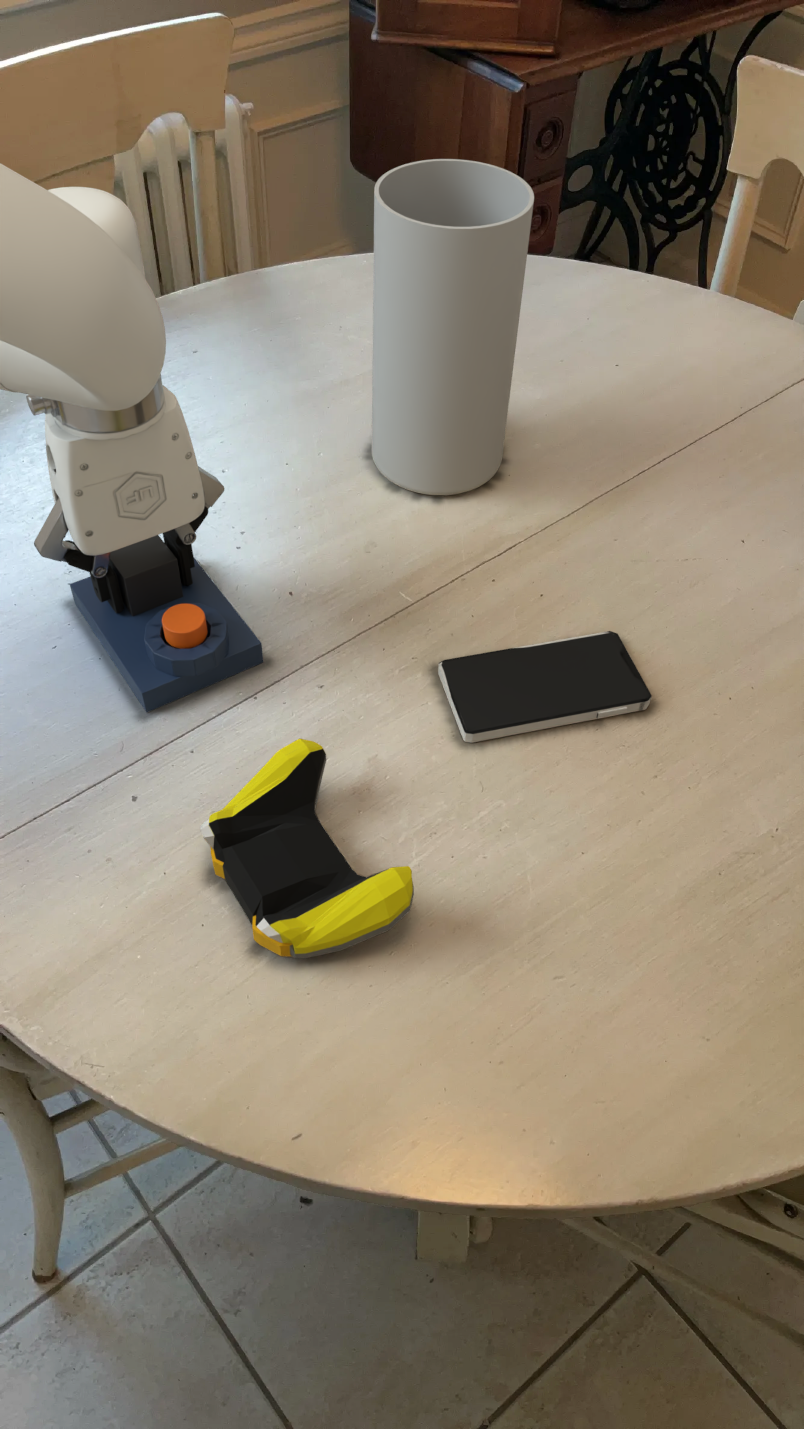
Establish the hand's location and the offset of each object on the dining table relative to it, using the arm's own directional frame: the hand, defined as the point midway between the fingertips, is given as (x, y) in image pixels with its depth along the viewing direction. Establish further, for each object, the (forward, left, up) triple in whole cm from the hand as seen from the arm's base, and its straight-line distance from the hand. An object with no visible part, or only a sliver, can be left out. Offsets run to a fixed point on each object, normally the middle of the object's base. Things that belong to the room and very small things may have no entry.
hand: (147, 587), depth 85 cm
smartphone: (+22, -24, -3) cm, 33 cm away
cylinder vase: (+32, +5, -3) cm, 32 cm away
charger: (0, 0, 0) cm, 0 cm away
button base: (0, -3, -3) cm, 4 cm away
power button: (0, -8, +1) cm, 8 cm away
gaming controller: (-2, -29, -3) cm, 29 cm away
